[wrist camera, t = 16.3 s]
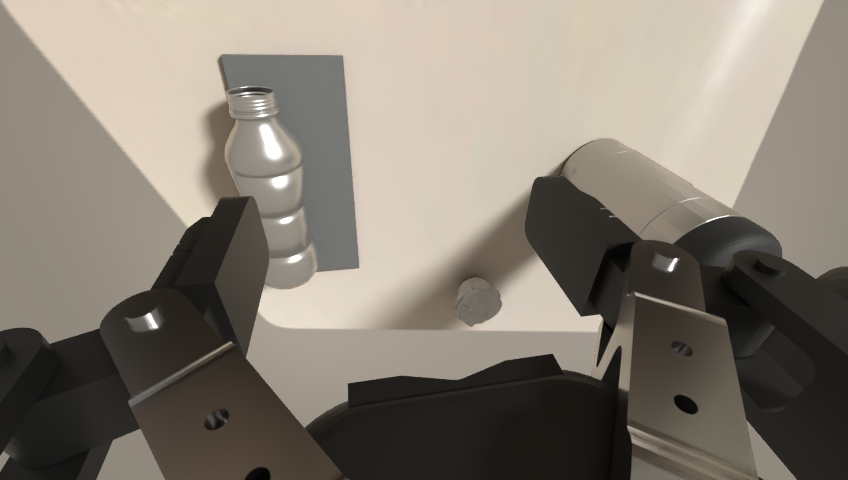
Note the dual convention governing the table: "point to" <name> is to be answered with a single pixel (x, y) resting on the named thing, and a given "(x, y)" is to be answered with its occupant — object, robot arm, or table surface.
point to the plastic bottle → (272, 182)
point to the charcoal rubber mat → (313, 141)
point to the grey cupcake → (477, 301)
